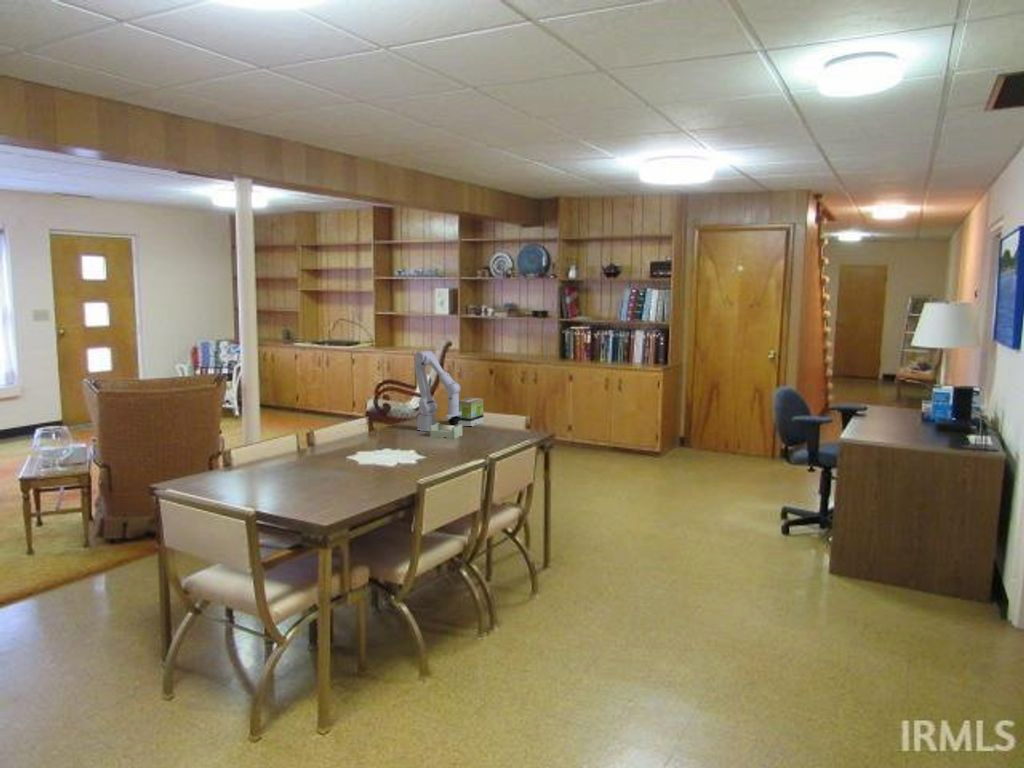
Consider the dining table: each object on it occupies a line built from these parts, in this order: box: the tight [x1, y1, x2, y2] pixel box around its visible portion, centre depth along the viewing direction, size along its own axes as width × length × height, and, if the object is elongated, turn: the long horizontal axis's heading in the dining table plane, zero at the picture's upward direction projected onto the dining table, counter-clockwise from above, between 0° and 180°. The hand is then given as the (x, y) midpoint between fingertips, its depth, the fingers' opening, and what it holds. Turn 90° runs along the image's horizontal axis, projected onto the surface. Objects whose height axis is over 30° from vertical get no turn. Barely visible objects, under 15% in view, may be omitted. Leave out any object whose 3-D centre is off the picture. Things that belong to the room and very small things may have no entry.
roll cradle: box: [429, 422, 463, 439], centre depth 385 cm, size 15×9×7 cm, turn 66°
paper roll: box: [440, 424, 454, 432], centre depth 390 cm, size 10×5×5 cm
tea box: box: [458, 397, 485, 427], centre depth 416 cm, size 15×10×15 cm, turn 154°
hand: (454, 430), depth 393 cm, fingers closed
